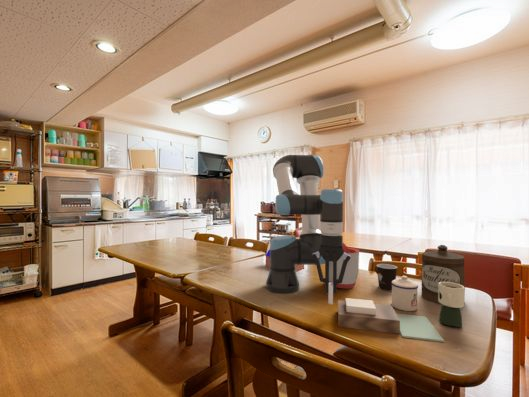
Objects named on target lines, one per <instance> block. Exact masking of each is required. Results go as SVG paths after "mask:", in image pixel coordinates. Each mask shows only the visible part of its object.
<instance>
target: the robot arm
mask: <svg viewBox="0 0 529 397" xmlns="http://www.w3.org/2000/svg"><path fill="white" fill-rule="evenodd" d="M272 175H273V178H275V179H276V185H277V190H278V191H277V192H278V194H277V195H276V196H275V201H274V202H275V213H276V214H277V215H283V216H290V215H291V216H292V215H293V216H295V215H296V216H297V215H299V216H300V215H301V231H302V232H301V233H300V234H299V237H298V238H297V237H296V235H293V234H292V235H290V234H286V235H285V234H284V235H280V236H279V235H278V236H275V237H272V239H270V242H269V243H270V244H269V249H270V268H269V272H268V274H267V278H266V280H265V289H266V290H268V291H269V292H272V293H277V294H278V293H279V294H290V293H295V292H297V291H298V290H299V289H300V282H299V278H298V275H297V272H296V271H295V266H296V265H304V266H307V265H313V266H316V270H317V274H318V277H319V278H318V279H319V282H320V283H324V292H325V293H324V294H328V296H327V297H328V303H327V305H334V295H335V294H337V292H338V290H337V284H339V283H342V281H343V277H344V273H345V270H346V266H347V263H348V261H349V260H350V255H348V254H346V253H345V252H344V250H343V243H344V241H343V229H344V228H343V227H344V226H343V225H344V224H343V223H344V222H343V221H344V219H343V218H344V192H343V190H342V189H339V188H337V189H336V188H326V189H325V188H324V189H321V190H320V194H319V187H318V185H319V183H320V181H321V179H322V178H323V177H324V163H323V160H322V158H321V157H320V155H317V154H286V155H284V156H282V157H281V158H278V159H277V161H276V162H275V163H274V165H273V167H272ZM295 179H296V182H295ZM296 183H297V185H298V184H299V191H300V194H299V192H298V189H297V186H296ZM342 255H343V259H344V260H343V264H342V267H341V271H340V275H339V279H337V261H338V260H339V259H340V258H341V256H342ZM329 261H332V262H333V283H330V282H329ZM322 265H324V271H325V273H324V275H323V270H322ZM324 276H325V277H324Z"/></svg>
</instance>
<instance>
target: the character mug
mask: <svg viewBox="0 0 529 397" xmlns="http://www.w3.org/2000/svg"><path fill="white" fill-rule="evenodd" d="M465 288H466V287H465ZM465 288H464V286H462V285H460V284H457V283H452V282H439V283H438V301H439V302H440V303H441V308H440V313H439V319H438V320H439V322H440V323H441V324H443V325H447V326H449V327H462V326H463V319H462V318H463V317H462V310H461V309H462V308H464V307H465V300H464V292H465V291H466V289H465ZM440 303H439V304H440Z"/></svg>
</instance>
